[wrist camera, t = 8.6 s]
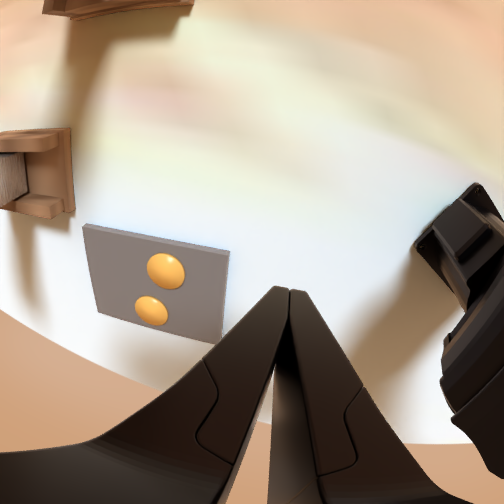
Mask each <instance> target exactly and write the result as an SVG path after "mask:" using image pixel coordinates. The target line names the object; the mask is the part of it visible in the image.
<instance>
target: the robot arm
mask: <svg viewBox="0 0 504 504" xmlns="http://www.w3.org/2000/svg"><path fill="white" fill-rule="evenodd" d="M477 188H478V192H477V193H475V191H476V189H477ZM421 244H424V246H423V247H420V245H421ZM415 248H416V250H417V252H418V253H419V254H420V255H421V256H422V257H423V258H424V259H425V260H426V262H427V263H428V264H429V265H430V266H431V267H432V268H433V269H434V271H435V272H436V273H437V274H438V275H439V276H440V277H441V279H442V280H443V281H444V282H445V283H446V285H447V286H448V287H449V288H450V289H451V290H452V292H453V293H454V294H455V295H456V297H457V299H458V301H459V302H460V304H461V306H462V308H463V310H464V312H465V315H464V316H463V317H462V319H461V320H460V322H459V323H458V324H457V326H456V327H455V328H454V329H453V331H452V332H451V333H448V335H447V336H446V337H445V339H444V340H443V341H444V350H443V354H442V358H441V365H442V374H443V376H442V377H441V378H440V387H441V389H442V392H443V394H444V397H445V399H446V402H447V404H448V406H449V407H450V409H451V410H452V412H453V413H454V414H455V415H453V416H452V417H451V422H452V423H453V424H454V425H455V426H457V427H458V428H459V429H461V430H462V431H463V432H464V433H465V434H466V435H467V436H468V437H469V438H470V439H471V441H472V442H473V443H474V444H475V446H476V448H477V449H478V451H479V453H480V455H481V457H482V458H483V461H484V463H485V465H486V467H487V469H488V470H489V471H490V472H491V473H493V474H495V475H496V476H498V477H499V478H501V479H504V220H503V219H502V217H501V215H500V213H499V212H498V210H497V208H496V207H495V205H494V203H493V202H492V200H491V199H490V197H489V195H488V194H487V192H486V191H485V189H484V188H483V186H482V185H480V184H479V183H473V184H472V185H471V186H470V187H469V188H468V189H467V190H466V191H465V192H464V193H463V195H462V196H461V197H460V198H459V199H456V200H455V201H454V202H453V203H452V204H451V205H450V206H449V207H448V208H447V209H446V210H445V211H444V212H443V213H442V214H441V215H440V216H439V217H438V218H437V219H436V220H435V221H434V222H433V225H432V226H431V227H430V228H429V229H428V230H427V231H426V232H424V233H423V234H422V235H421V236H420V237H419V238H418V239H417V240H416V242H415ZM274 367H275V369H274ZM273 370H274V384H273V408H272V430H271V450H270V467H269V484H268V500H267V504H473V503H470V502H468V501H465V500H463V499H460V498H457V497H455V496H453V495H450V494H448V493H447V492H445V491H443V490H442V489H441V488H439V487H438V486H437V485H436V484H435V483H433V481H431V479H430V478H429V477H428V476H427V475H426V473H425V472H424V471H423V469H422V468H421V467H420V465H419V464H418V463H417V461H416V460H415V459H414V458H413V456H412V455H411V454H410V452H409V451H408V450H407V448H406V447H405V446H404V444H403V443H402V442H401V440H400V439H399V438H398V436H397V435H396V434H395V432H394V431H393V430H392V428H391V427H390V425H389V424H388V423H387V421H386V420H385V418H384V417H383V415H382V414H381V412H380V411H379V409H378V407H377V406H376V404H375V403H374V401H373V400H372V398H371V396H370V395H369V393H368V391H367V390H366V388H365V387H363V383H362V381H361V380H360V378H359V376H358V375H357V373H356V372H355V370H354V368H353V367H352V365H351V363H350V362H349V360H348V358H347V357H346V355H345V353H344V352H343V350H342V348H341V347H340V345H339V344H338V342H337V340H336V339H335V337H334V335H333V334H332V332H331V331H330V329H329V327H328V326H327V324H326V322H325V321H324V319H323V318H322V316H321V314H320V313H319V311H318V310H317V308H316V306H315V305H314V303H313V302H312V300H311V298H310V297H309V295H308V294H307V292H305V291H302V290H296V289H291V290H290V291H289V289H288V288H285V287H280V286H273V287H272V288H271V289H270V290H269V291H268V292H267V293H266V294H265V295H264V296H263V297H262V298H261V299H260V300H259V301H258V302H257V303H256V304H255V306H254V307H253V308H252V309H251V310H250V311H249V312H248V313H247V314H246V315H245V316H244V317H243V318H242V319H241V320H240V321H239V322H238V323H237V324H236V325H235V326H234V327H233V328H232V329H231V330H230V331H229V332H228V333H227V334H226V335H225V336H224V337H223V338H222V339H221V340H220V341H219V342H218V343H217V344H216V345H215V346H214V347H213V348H212V349H211V350H210V351H209V352H208V353H207V354H206V355H205V356H204V357H203V358H202V360H200V361H199V362H198V363H197V364H196V365H195V366H194V367H193V368H192V369H191V370H190V371H188V372H187V373H186V374H185V375H184V376H183V377H182V378H181V379H180V380H178V381H177V382H176V383H175V384H174V385H173V386H171V387H170V388H169V389H167V390H166V391H165V392H163V393H162V394H161V395H160V396H159V397H157V398H156V399H154V400H153V401H151V402H150V403H148V404H147V405H146V406H144V407H143V408H141V409H140V410H138V411H137V412H135V413H134V414H133V415H131V416H130V417H128V418H127V419H125V420H124V421H122V422H121V423H119V424H118V425H116V426H115V427H113V428H112V429H110V430H109V431H107V432H105V433H104V434H102V435H100V436H98V437H96V438H93V439H91V440H89V441H86V442H82V443H79V444H73V445H67V446H61V447H53V448H46V449H37V450H27V451H17V452H1V453H0V504H225V503H226V501H227V498H228V496H229V493H230V491H231V488H232V486H233V483H234V481H235V478H236V475H237V473H238V470H239V468H240V465H241V462H242V460H243V457H244V454H245V452H246V449H247V446H248V443H249V441H250V438H251V435H252V432H253V430H254V427H255V424H256V421H257V418H258V416H259V413H260V410H261V407H262V404H263V401H264V398H265V395H266V392H267V389H268V386H269V383H270V380H271V377H272V374H273Z"/></svg>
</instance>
